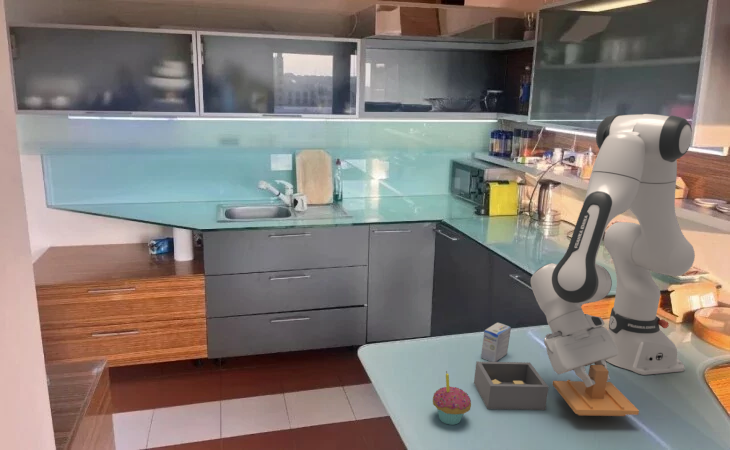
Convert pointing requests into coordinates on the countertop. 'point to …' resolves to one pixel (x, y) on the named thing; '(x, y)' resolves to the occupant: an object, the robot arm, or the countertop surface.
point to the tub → (510, 385)
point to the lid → (595, 396)
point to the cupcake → (451, 403)
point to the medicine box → (495, 342)
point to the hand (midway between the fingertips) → (598, 383)
